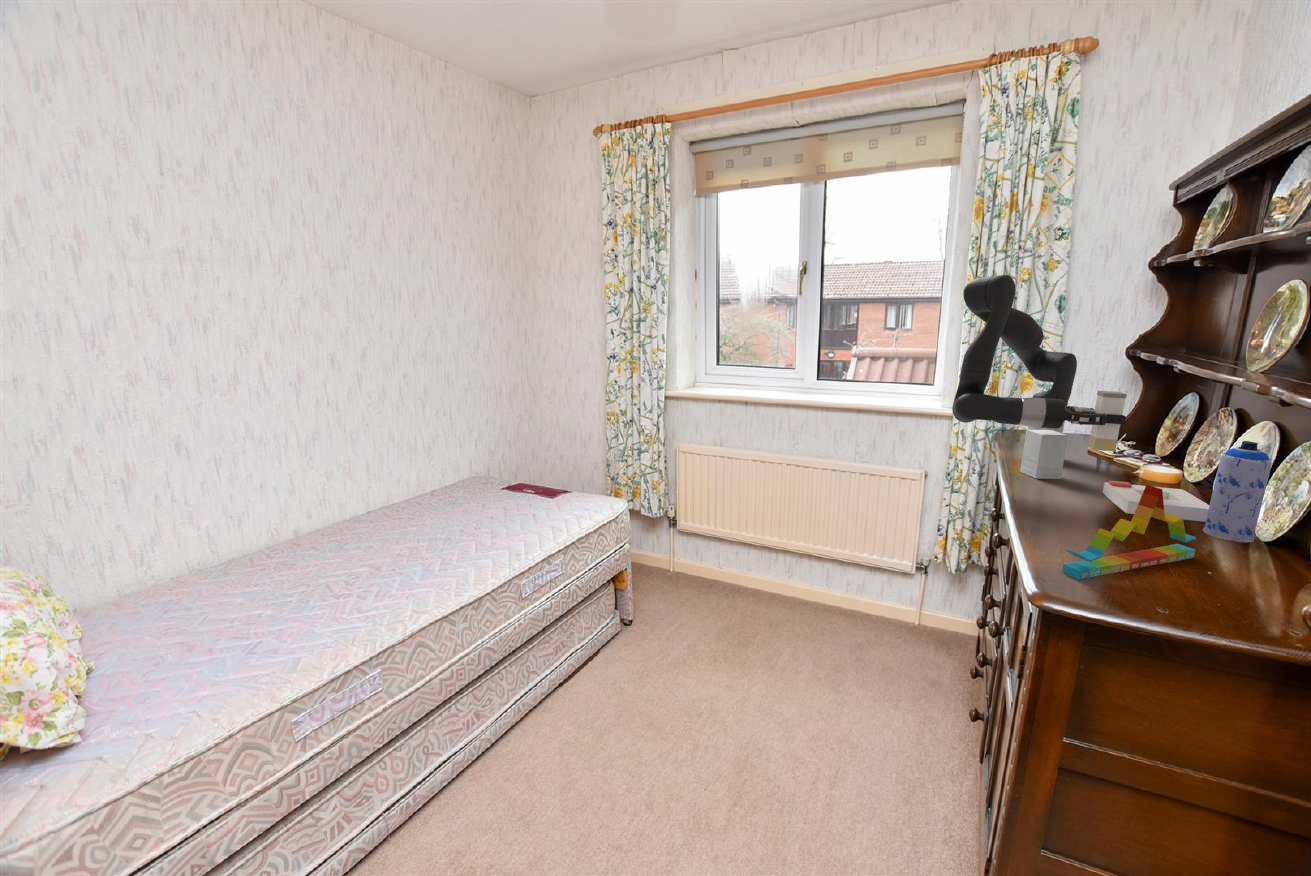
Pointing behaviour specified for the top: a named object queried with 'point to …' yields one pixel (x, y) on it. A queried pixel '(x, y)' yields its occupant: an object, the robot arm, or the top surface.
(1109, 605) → the top surface
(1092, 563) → the chart
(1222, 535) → the aerosol can
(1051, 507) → the top surface
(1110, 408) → the tall white box
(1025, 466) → the supplement box
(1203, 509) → the socket
